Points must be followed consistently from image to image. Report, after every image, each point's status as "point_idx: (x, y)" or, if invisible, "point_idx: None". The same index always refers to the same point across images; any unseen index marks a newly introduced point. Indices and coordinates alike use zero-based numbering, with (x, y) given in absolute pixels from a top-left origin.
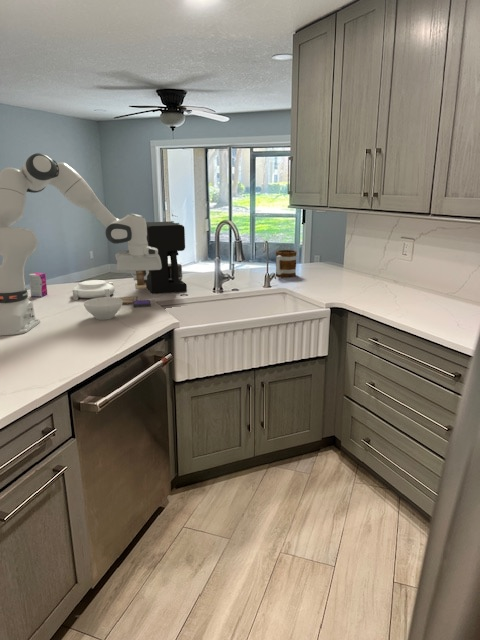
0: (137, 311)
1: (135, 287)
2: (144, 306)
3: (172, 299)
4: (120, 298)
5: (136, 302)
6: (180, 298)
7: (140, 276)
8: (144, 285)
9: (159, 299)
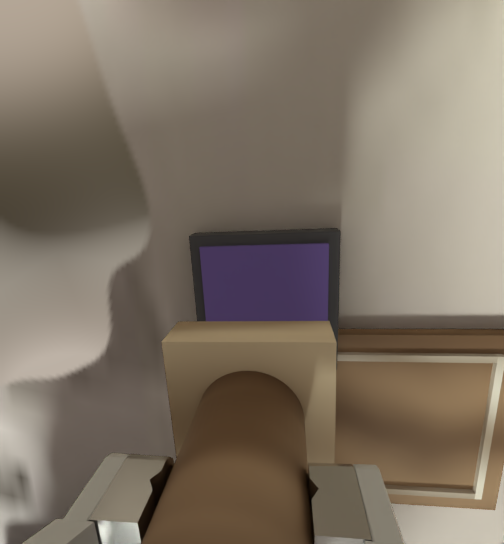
0: (303, 81)
1: (330, 331)
2: (246, 231)
3: (63, 398)
4: (436, 477)
5: (312, 290)
6: (15, 410)
7: (209, 506)
8: (188, 341)
9: (150, 418)
